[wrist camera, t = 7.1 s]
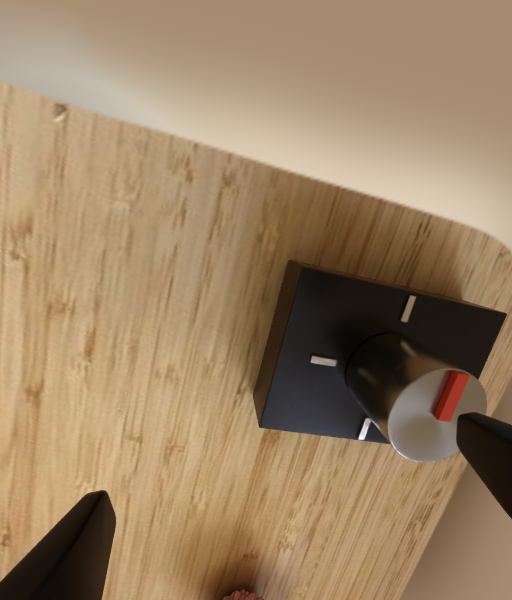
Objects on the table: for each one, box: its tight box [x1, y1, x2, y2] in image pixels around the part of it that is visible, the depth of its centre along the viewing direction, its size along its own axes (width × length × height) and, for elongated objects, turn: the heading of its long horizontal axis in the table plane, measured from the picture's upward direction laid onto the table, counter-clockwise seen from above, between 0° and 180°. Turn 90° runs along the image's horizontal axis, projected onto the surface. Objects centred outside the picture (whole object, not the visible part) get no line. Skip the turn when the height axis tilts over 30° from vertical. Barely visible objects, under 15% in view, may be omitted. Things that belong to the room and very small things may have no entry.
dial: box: [346, 333, 487, 462], centre depth 14 cm, size 4×4×4 cm
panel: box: [253, 260, 507, 444], centre depth 17 cm, size 12×9×3 cm
